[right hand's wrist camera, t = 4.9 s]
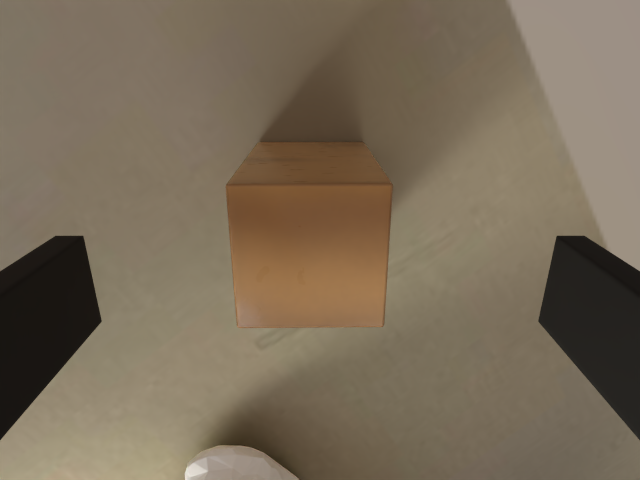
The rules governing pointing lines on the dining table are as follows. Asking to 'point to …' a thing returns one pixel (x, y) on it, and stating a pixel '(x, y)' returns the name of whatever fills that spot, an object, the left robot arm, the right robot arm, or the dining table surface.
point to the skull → (235, 465)
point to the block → (309, 236)
